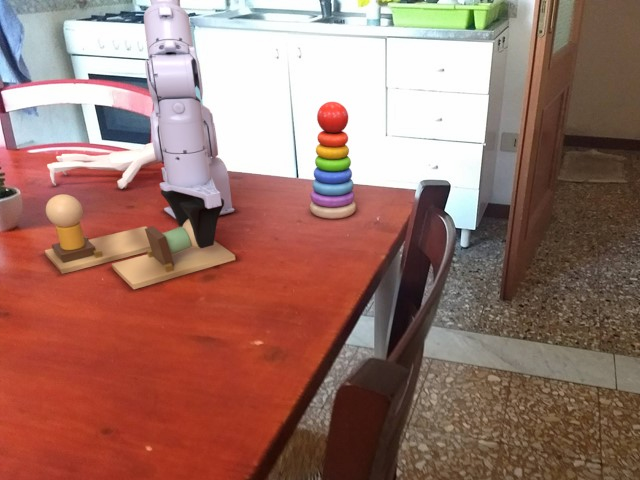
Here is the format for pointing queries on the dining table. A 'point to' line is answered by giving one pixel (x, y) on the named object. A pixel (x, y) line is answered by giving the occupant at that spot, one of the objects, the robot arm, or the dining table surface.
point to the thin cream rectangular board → (170, 265)
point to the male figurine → (107, 163)
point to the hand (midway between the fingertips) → (198, 240)
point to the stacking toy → (332, 166)
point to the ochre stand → (106, 250)
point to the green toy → (170, 242)
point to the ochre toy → (68, 228)
